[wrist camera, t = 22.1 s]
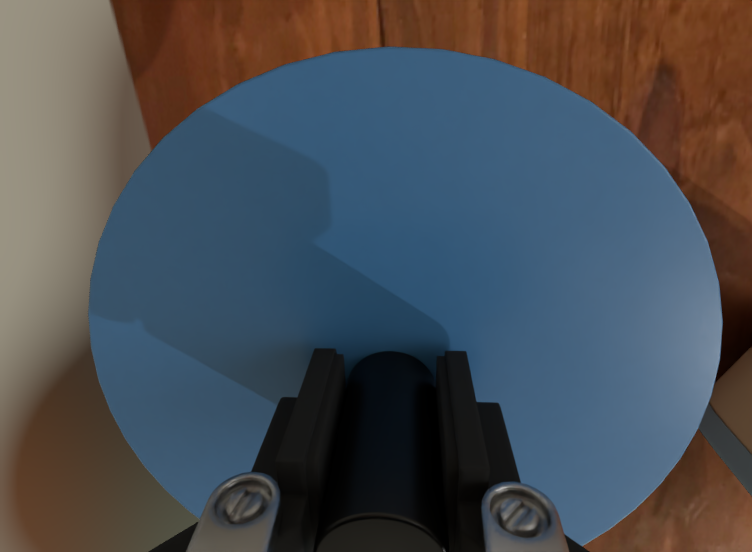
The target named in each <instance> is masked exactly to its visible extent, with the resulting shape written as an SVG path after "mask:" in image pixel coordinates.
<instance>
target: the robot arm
mask: <svg viewBox="0 0 752 552" xmlns="http://www.w3.org/2000/svg"><path fill="white" fill-rule="evenodd" d="M345 390H346V382H345V364H344V355H343V354H337V351H336V349H334V348H315V349H314V351H313V354H312V357H311V360H310V363H309V366H308V368H307V371H306V374H305V377H304V380H303V383H302V386H301V389H300V391H299V394H298V397H282V398H281V399H280V401H279V403H278V405H277V408H276V410H275V413H274V415H273V418H272V420H271V423H270V425H269V428H268V430H267V433H266V435H265V438H264V440H263V443H262V445H261V448H260V450H259V453H258V455H257V458H256V460H255V463H254V465H253V468H252V470H251V472H246V473H241V474H238V475H235V476H232V477H230V478H228V479H227V480H225V481H224V482H222V483H221V484H220V485H219V486H218V487H217V488H216V489H214V490H213V492H212V494H211V495H210V497H209V499H208V500H207V503H206V505H205V508H204V510H203V512H202V515H201V517H200V520H199V522H197V523H195V524H194V525H192V526H190V527H189V528H187V529H185V530H184V531H182V532H180V533H179V534H177V535H175V536H174V537H172V538H170V539H169V540H167V541H165V542H164V543H162V544H160V545H159V546H157V547H156V548H154V549H152V550H151V551H149V552H313V547H314V542H315V537H316V532H317V527H318V522H319V518H320V513H321V508H322V503H323V498H324V493H325V488H326V483H327V478H328V473H329V469H330V464H331V459H332V454H333V449H334V444H335V439H336V434H337V429H338V424H339V420H340V415H341V410H342V405H343V400H344V395H345ZM435 390H436V402H437V415H438V428H439V441H440V453H441V466H442V479H443V492H444V504H445V515H446V519H447V528H448V540H449V552H589V551H588V550H586V549H585V548H583V547H582V546H581V545H579V544H578V543H576V542H575V541H574V540H572V539H571V538H569V537H568V536H567V535H565V534H564V531H563V528H562V524H561V521H560V517H559V514H558V512H557V510H556V507H555V505H554V504H553V503H552V501H551V500H550V499H549V498H548V497H547V496H546V495H545V494H544V493H542V492H541V491H539V490H538V489H537V488H534V487H532V486H530V485H527V484H525V483H521V481H520V477H519V474H518V470H517V466H516V462H515V459H514V455H513V451H512V447H511V444H510V440H509V436H508V433H507V429H506V425H505V421H504V418H503V414H502V410H501V407H500V404H499V403H497V402H476V397H475V392H474V387H473V382H472V377H471V372H470V367H469V362H468V357H467V352H466V351H445V354H444V356H437V361H436V388H435Z"/></svg>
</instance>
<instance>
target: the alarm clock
mask: <svg viewBox="0 0 752 552" xmlns="http://www.w3.org/2000/svg"><path fill="white" fill-rule="evenodd" d="M699 429H700V431H701V433H702V434H703V435H704V437H705V438H706V439H707V441H708V442H709V444H710V445H711V446H712V448H713V449H714V450H715V451H716V453H717V454H718V455H719V456H720V458H721V459H722V460H723V461H724V462H725V464H726V465H727V466H728V467H729V469H730V470H731V471H732V472H733V474H734V475H735V476H736V477H737V479H738V480H739V481H740V482H741V484H742V485H743V486H744V487H745V488H746V490H747V491H748V492H749V493H750V495H751V496H752V346H751V347H750V348H749V349H748V350H747V351H746V352H745V353H744V354H743V355H742V356H741V357H740V358H739V359H738V360H737V361H736V362H735V363H734V364H733V365H732V366H731V367H730V368H729V369H728V370H727V371H726V372H725V374H724V375H723V376H722V377H721V378H720V379H719V380H718V381H717V382H716V383H715V384H714V387H713V392H712V396H711V398H710V400H709V403H708V405H707V408H706V410H705V413H704V415H703V418H702V420H701V423H700V425H699Z"/></svg>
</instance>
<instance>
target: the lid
mask: <svg viewBox="0 0 752 552" xmlns="http://www.w3.org/2000/svg"><path fill="white" fill-rule="evenodd" d="M88 316H89V328H90V340H91V349H92V354H93V358H94V362H95V367H96V371H97V375H98V380H99V382H100V385H101V388H102V390H103V393H104V396H105V398H106V401H107V404H108V406H109V409H110V411H111V413H112V415H113V417H114V419H115V420H116V422H117V424H118V426H119V428H120V430H121V432H122V434H123V435H124V437H125V439H126V441H127V442H128V443H129V445H130V446H131V448H132V449H133V451H134V452H135V454H136V455H137V456H138V458H139V459H140V461H141V462H142V463H143V465H144V466H145V467H146V468H147V469H148V471H149V472H150V473H151V474H152V475H153V476H154V477H155V479H156V480H157V481H158V482H159V483H160V484H161V485H162V486H163V487H164V489H165V490H166V491H167V492H168V493H170V494H171V495H172V496H173V497H174V498H175V499H176V500H177V501H178V502H180V503H181V504H182V505H183V506H184V507H185V508H186V509H187V510H188V511H190V512H191V513H192V514H194V515H195V516H196V517H198V518H199V519H200V517H201V515H202V512H203V510H204V508H205V505H206V503H207V500H208V499H209V497H210V495H211V494H212V492H213V490H214V489H216V488H217V487H218V486H219V485H220V484H221V483H222V482H224V481H225V480H227V479H228V478H230V477H232V476H235V475H238V474H241V473H246V472H251V470H252V468H253V465H254V463H255V460H256V458H257V455H258V453H259V450H260V448H261V445H262V443H263V440H264V438H265V435H266V433H267V430H268V428H269V425H270V423H271V420H272V418H273V415H274V413H275V410H276V408H277V405H278V403H279V401H280V399H281V398H282V397H298V394H299V391H300V389H301V386H302V383H303V380H304V377H305V374H306V371H307V368H308V366H309V363H310V360H311V357H312V354H313V351H314V349H315V348H334V349H336V351H337V354H343V355H344V364H345V382H346V390H345V395H344V400H343V405H342V410H341V415H340V420H339V424H338V429H337V434H336V439H335V444H334V449H333V454H332V459H331V464H330V469H329V473H328V478H327V483H326V488H325V493H324V498H323V503H322V508H321V513H320V518H319V522H318V527H317V532H316V537H315V542H314V547H313V552H449V540H448V528H447V519H446V515H445V504H444V492H443V479H442V466H441V453H440V441H439V428H438V415H437V402H436V390H435V388H436V361H437V356H444V354H445V351H466V352H467V357H468V362H469V367H470V372H471V377H472V382H473V387H474V392H475V397H476V402H497V403H499V404H500V407H501V410H502V414H503V418H504V421H505V425H506V429H507V433H508V436H509V440H510V444H511V447H512V451H513V455H514V459H515V462H516V466H517V470H518V474H519V477H520V481H521V483H525V484H527V485H530V486H532V487H534V488H537V489H538V490H539V491H541V492H542V493H544V494H545V495H546V496H547V497H548V498H549V499H550V500H551V501H552V503H553V504H554V505H555V507H556V510H557V512H558V514H559V517H560V521H561V524H562V528H563V531H564V534H565V535H567V536H568V537H569V538H571V539H572V540H574V541H575V542H576V543H578V544H579V545H581V546H583V545H585V544H586V543H588V542H590V541H591V540H593V539H594V538H596V537H598V536H599V535H601V534H603V533H604V532H606V531H607V530H609V529H610V528H612V527H613V526H614V525H615V524H617V523H618V522H619V521H621V520H622V519H623V518H624V517H626V516H627V515H628V514H630V513H631V512H632V511H633V510H635V509H636V508H637V507H638V506H639V505H640V504H641V503H642V502H643V501H644V500H645V499H646V498H647V497H648V496H649V495H650V494H651V493H652V492H653V491H654V490H655V489H656V488H657V487H658V486H659V485H660V484H661V483H662V481H663V480H664V479H665V477H666V476H667V475H668V474H669V472H670V471H671V470H672V469H673V467H674V466H675V465H676V463H677V462H678V461H679V460H680V458H681V457H682V455H683V453H684V452H685V450H686V448H687V446H688V445H689V443H690V441H691V440H692V438H693V436H694V435H695V433H696V431H697V429H698V428H699V425H700V423H701V420H702V418H703V415H704V413H705V410H706V408H707V405H708V403H709V400H710V398H711V396H712V392H713V387H714V383H715V379H716V375H717V370H718V366H719V362H720V354H721V340H722V326H723V319H722V309H721V298H720V288H719V281H718V277H717V274H716V270H715V266H714V262H713V259H712V255H711V251H710V248H709V244H708V241H707V239H706V237H705V235H704V233H703V230H702V228H701V226H700V224H699V222H698V220H697V218H696V215H695V213H694V211H693V209H692V207H691V205H690V203H689V201H688V200H687V198H686V197H685V195H684V194H683V193H682V191H681V190H680V188H679V187H678V185H677V184H676V182H675V181H674V179H673V178H672V177H671V175H670V174H669V172H668V171H667V169H666V168H665V166H664V165H663V164H662V163H661V162H660V161H659V160H658V159H657V158H656V157H655V156H654V155H653V154H652V153H651V152H650V151H649V150H648V149H647V148H646V147H645V145H644V144H643V143H642V142H641V141H640V140H639V139H638V138H637V137H636V136H635V135H634V134H633V133H632V132H631V131H630V130H628V129H627V128H626V127H624V126H623V125H622V124H620V123H619V122H618V121H616V120H615V119H614V118H612V117H611V116H610V115H608V114H607V113H606V112H604V111H603V110H602V109H600V108H599V107H598V106H596V105H595V104H594V103H592V102H591V101H589V100H587V99H585V98H584V97H582V96H580V95H578V94H576V93H574V92H572V91H570V90H569V89H567V88H565V87H563V86H561V85H559V84H557V83H555V82H554V81H552V80H550V79H548V78H546V77H544V76H541V75H538V74H535V73H532V72H529V71H527V70H524V69H521V68H518V67H515V66H512V65H510V64H507V63H504V62H501V61H498V60H495V59H491V58H485V57H480V56H475V55H470V54H465V53H460V52H455V51H449V50H444V49H430V48H408V47H379V48H369V49H359V50H349V51H339V52H332V53H329V54H325V55H321V56H317V57H313V58H309V59H305V60H301V61H297V62H293V63H289V64H285V65H282V66H280V67H277V68H275V69H273V70H270V71H268V72H265V73H263V74H261V75H258V76H256V77H253V78H251V79H249V80H246V81H244V82H241V83H239V84H237V85H236V86H234V87H232V88H231V89H229V90H227V91H226V92H224V93H222V94H221V95H219V96H218V97H216V98H214V99H213V100H211V101H209V102H208V103H206V104H204V105H203V106H201V107H199V108H198V109H197V110H195V111H194V112H193V113H192V114H191V115H189V116H188V117H187V118H186V119H185V120H184V121H182V122H181V123H180V124H179V125H178V126H176V127H175V128H174V129H173V130H172V131H171V132H169V133H168V134H167V135H166V136H165V137H163V138H162V140H161V141H160V142H159V143H158V144H157V145H156V147H155V148H154V149H153V150H152V151H151V152H150V154H149V155H148V156H147V157H146V158H145V160H144V161H143V162H142V163H141V164H140V165H139V167H138V168H137V169H136V170H135V171H134V173H133V175H132V176H131V178H130V180H129V181H128V183H127V184H126V187H125V188H124V189H123V191H122V193H121V194H120V196H119V198H118V199H117V201H116V203H115V204H114V206H113V209H112V211H111V214H110V216H109V218H108V221H107V223H106V226H105V228H104V231H103V233H102V236H101V238H100V240H99V244H98V248H97V252H96V257H95V261H94V266H93V270H92V275H91V280H90V296H89V310H88Z"/></svg>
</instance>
